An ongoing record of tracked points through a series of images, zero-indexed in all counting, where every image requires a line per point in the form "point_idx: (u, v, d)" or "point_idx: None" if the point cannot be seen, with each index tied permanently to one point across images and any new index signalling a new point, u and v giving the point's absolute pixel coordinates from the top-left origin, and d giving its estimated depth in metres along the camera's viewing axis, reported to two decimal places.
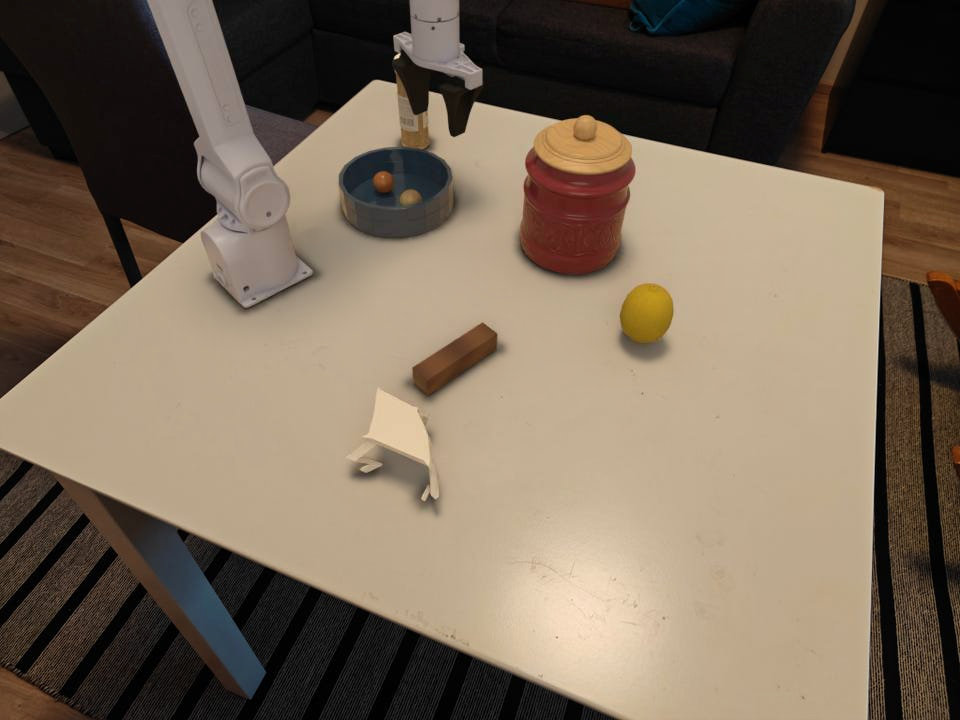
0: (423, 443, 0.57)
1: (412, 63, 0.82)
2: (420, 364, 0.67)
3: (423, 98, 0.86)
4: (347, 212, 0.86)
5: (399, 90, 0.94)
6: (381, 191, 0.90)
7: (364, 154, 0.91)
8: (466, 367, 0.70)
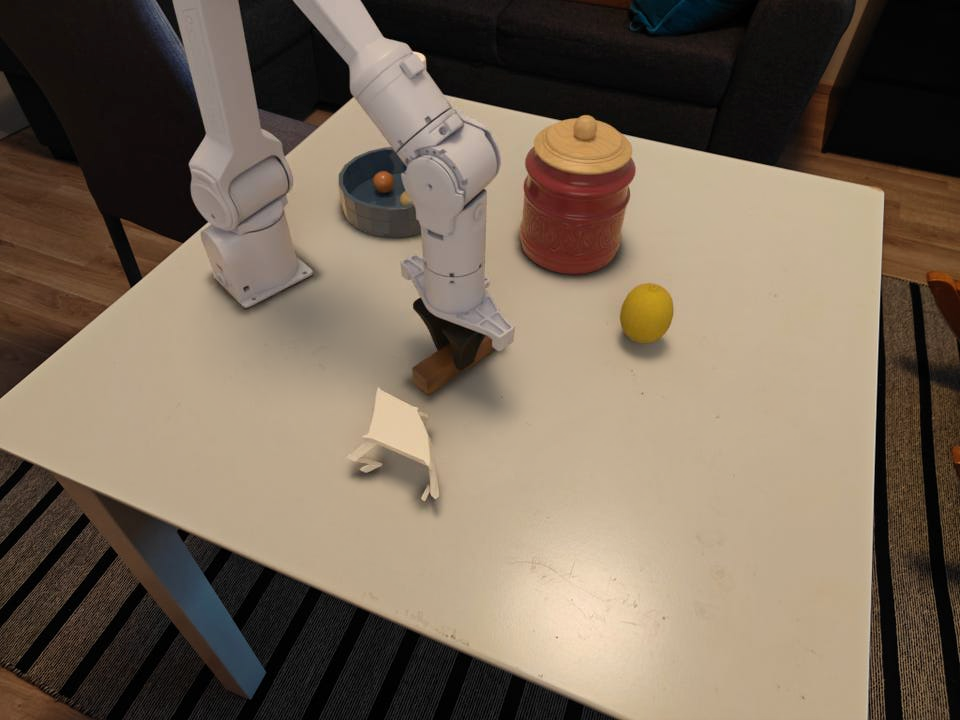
0: (423, 443, 0.57)
1: None
2: (420, 364, 0.67)
3: None
4: (347, 212, 0.86)
5: None
6: (381, 191, 0.90)
7: (364, 154, 0.91)
8: (466, 367, 0.70)
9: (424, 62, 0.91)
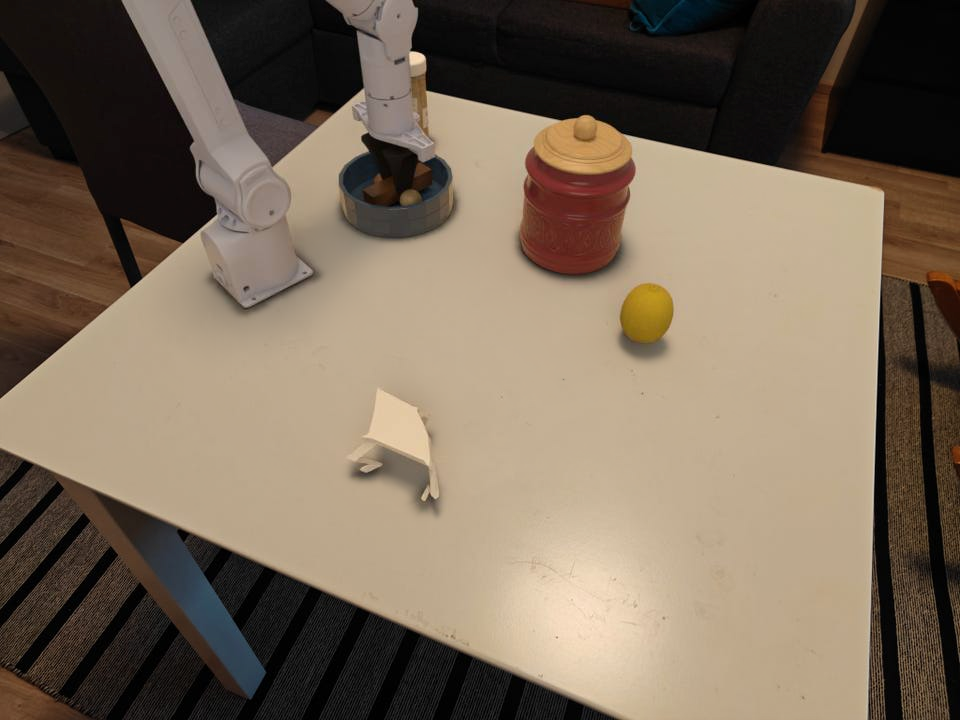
0: (423, 443, 0.57)
1: None
2: (369, 187, 0.86)
3: None
4: (347, 212, 0.86)
5: None
6: None
7: (364, 154, 0.91)
8: None
9: (424, 62, 0.91)
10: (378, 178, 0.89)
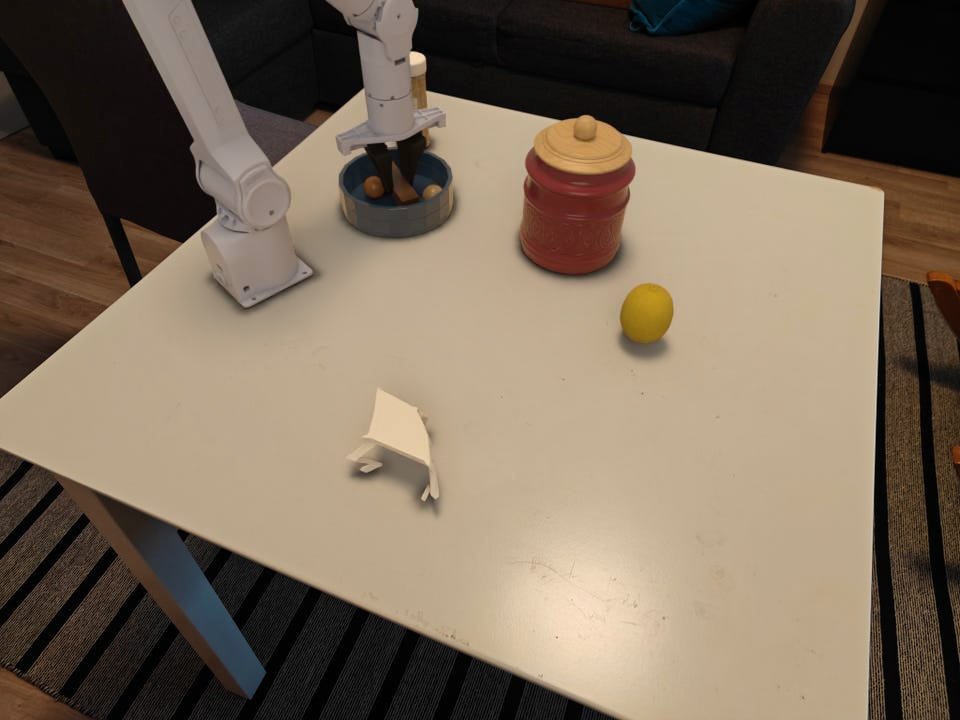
0: (423, 443, 0.57)
1: (386, 146, 0.82)
2: (401, 197, 0.85)
3: None
4: (347, 212, 0.86)
5: None
6: None
7: (364, 154, 0.91)
8: None
9: (424, 62, 0.91)
10: (366, 192, 0.89)
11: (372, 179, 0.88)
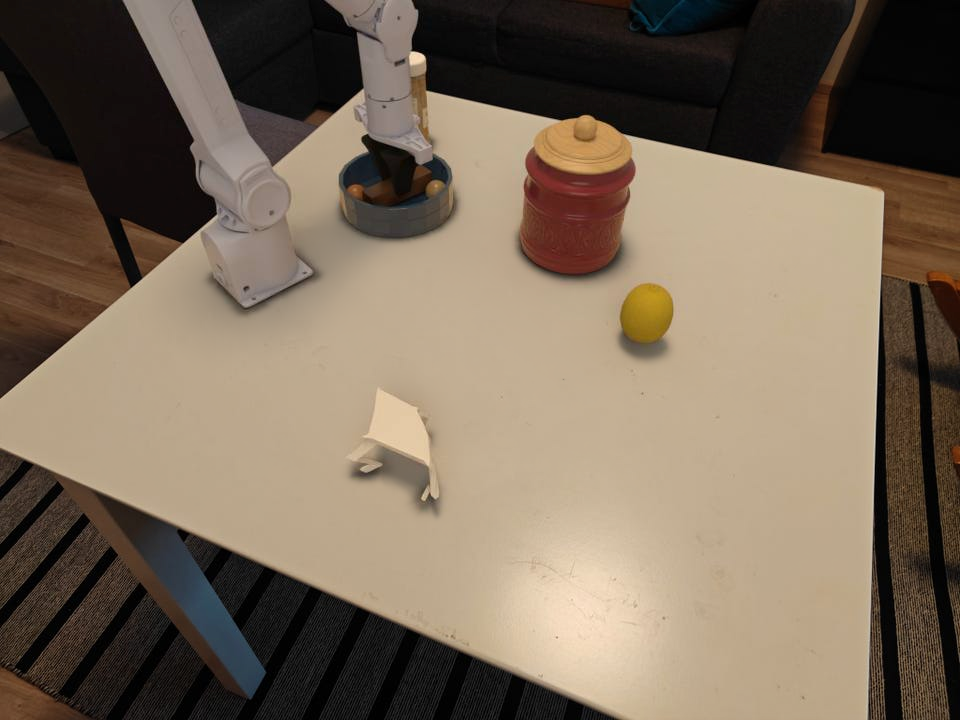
0: (423, 443, 0.57)
1: None
2: (368, 188, 0.86)
3: None
4: (347, 212, 0.86)
5: None
6: None
7: (364, 154, 0.91)
8: (406, 196, 0.89)
9: (424, 62, 0.91)
10: None
11: None
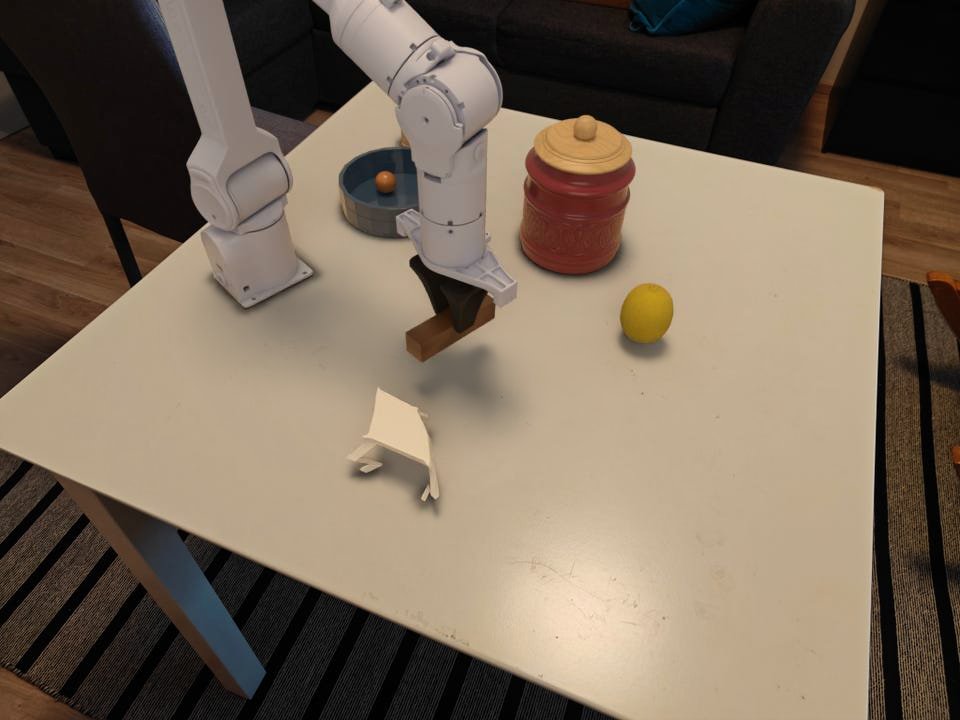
0: (423, 443, 0.57)
1: None
2: (414, 329, 0.63)
3: None
4: (347, 212, 0.86)
5: None
6: (382, 188, 0.89)
7: (364, 154, 0.91)
8: (462, 335, 0.66)
9: None
10: (382, 174, 0.89)
11: None
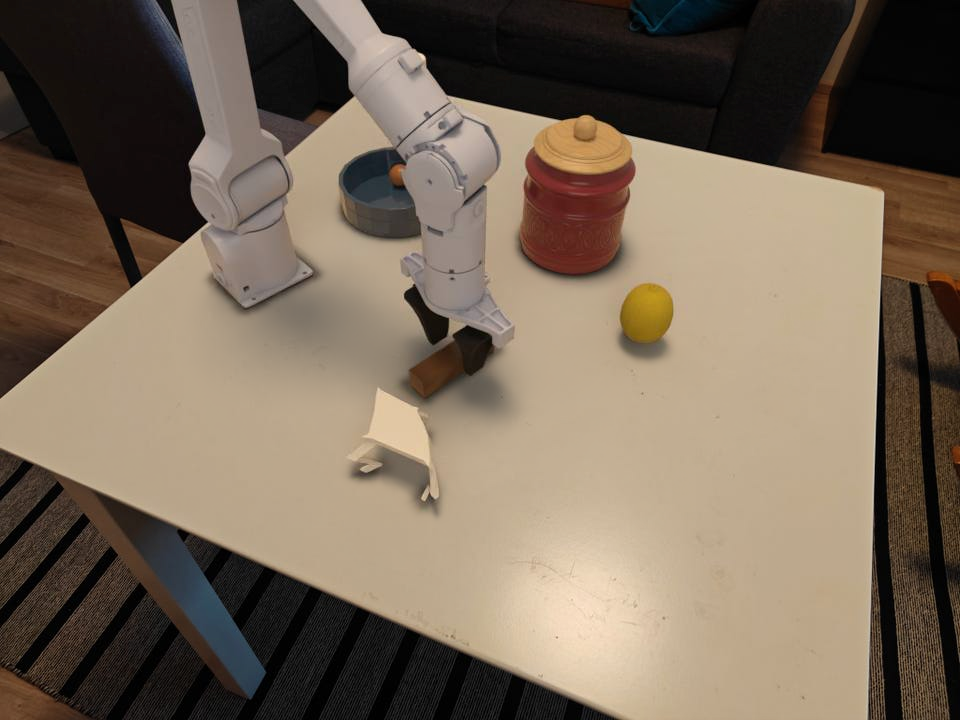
0: (423, 443, 0.57)
1: None
2: (416, 366, 0.67)
3: (442, 326, 0.69)
4: (347, 212, 0.86)
5: None
6: None
7: (364, 154, 0.91)
8: (463, 369, 0.69)
9: (424, 62, 0.91)
10: None
11: None
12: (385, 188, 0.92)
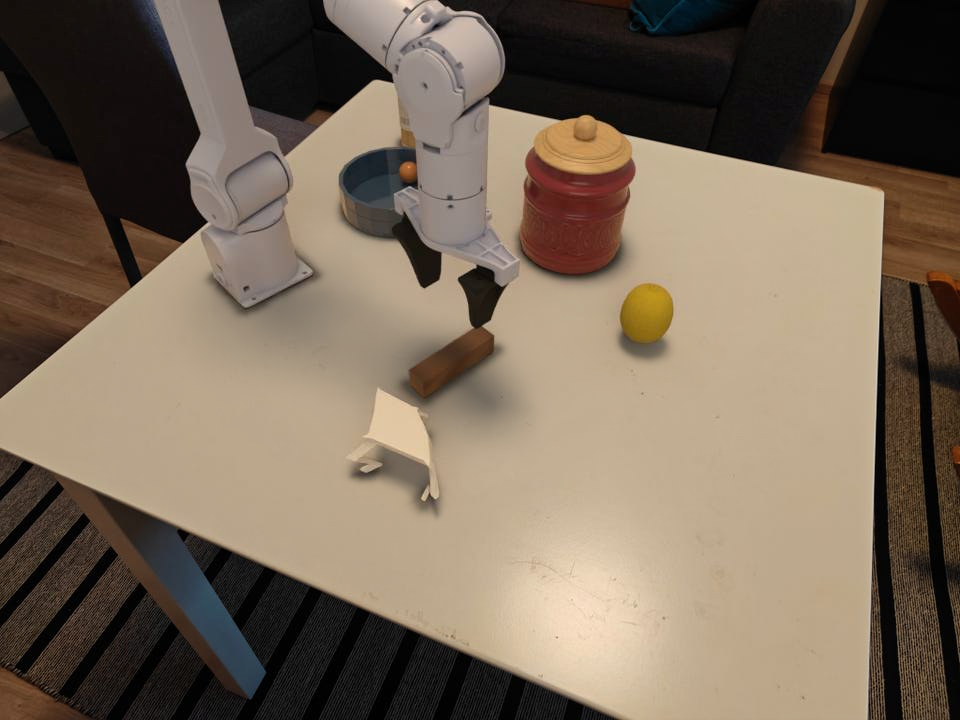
0: (423, 443, 0.57)
1: None
2: (416, 366, 0.67)
3: (434, 267, 0.64)
4: (347, 212, 0.86)
5: None
6: None
7: (364, 154, 0.91)
8: (463, 369, 0.69)
9: None
10: None
11: None
12: (385, 188, 0.92)
